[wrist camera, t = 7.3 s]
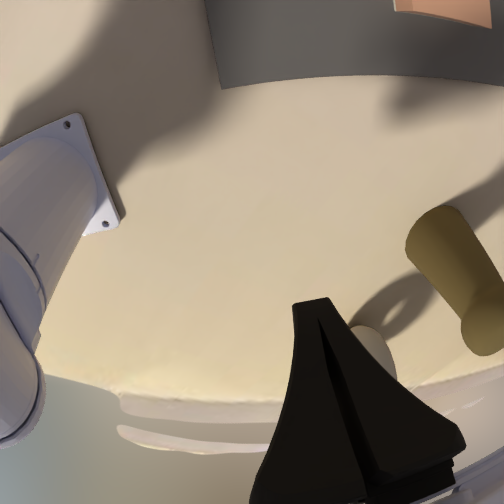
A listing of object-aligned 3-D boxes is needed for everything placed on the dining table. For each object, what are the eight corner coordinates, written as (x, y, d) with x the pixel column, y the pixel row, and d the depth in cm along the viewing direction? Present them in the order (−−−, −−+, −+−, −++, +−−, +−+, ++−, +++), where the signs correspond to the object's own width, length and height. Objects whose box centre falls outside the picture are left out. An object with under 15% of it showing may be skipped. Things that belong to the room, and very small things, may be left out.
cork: (391, 249, 23) (456, 364, 15) (441, 192, 20) (531, 295, 12) (429, 273, 26) (485, 372, 17) (472, 226, 23) (545, 318, 14)
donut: (357, 359, 33) (381, 437, 25) (328, 364, 33) (349, 446, 25) (375, 299, 27) (416, 395, 19) (340, 305, 27) (374, 407, 19)
